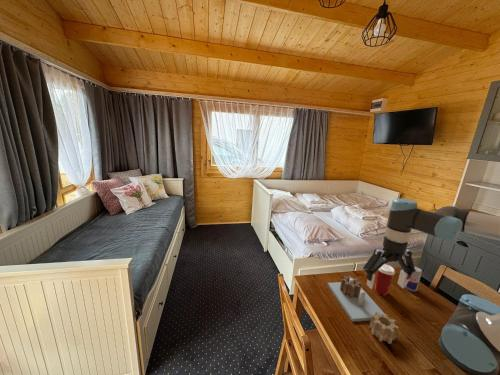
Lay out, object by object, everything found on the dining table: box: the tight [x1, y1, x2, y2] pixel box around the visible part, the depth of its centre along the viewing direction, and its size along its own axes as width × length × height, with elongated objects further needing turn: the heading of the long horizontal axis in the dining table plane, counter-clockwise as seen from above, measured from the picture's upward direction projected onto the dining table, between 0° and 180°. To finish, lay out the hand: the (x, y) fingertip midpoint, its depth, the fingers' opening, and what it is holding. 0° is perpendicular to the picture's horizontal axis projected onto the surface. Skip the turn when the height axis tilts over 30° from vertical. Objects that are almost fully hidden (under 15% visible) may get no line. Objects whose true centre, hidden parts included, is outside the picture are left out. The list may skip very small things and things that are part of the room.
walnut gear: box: [340, 275, 362, 298], centre depth 103 cm, size 9×9×6 cm
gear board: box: [327, 278, 385, 322], centre depth 99 cm, size 22×16×8 cm
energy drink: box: [404, 265, 423, 293], centre depth 108 cm, size 5×5×12 cm
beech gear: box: [368, 312, 399, 345], centre depth 83 cm, size 9×9×6 cm
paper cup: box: [374, 263, 396, 296], centre depth 105 cm, size 8×8×14 cm
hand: (385, 286), depth 84 cm, fingers open, 13 cm apart
